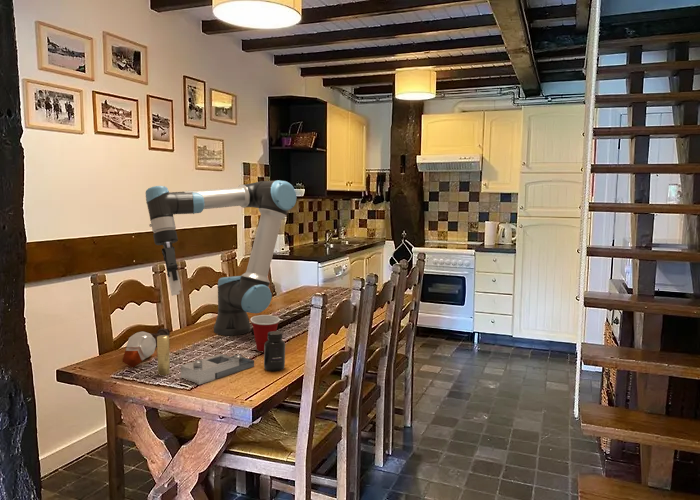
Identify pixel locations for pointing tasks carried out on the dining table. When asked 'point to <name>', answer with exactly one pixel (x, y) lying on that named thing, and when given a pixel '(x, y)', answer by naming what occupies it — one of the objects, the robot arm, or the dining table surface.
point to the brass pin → (163, 354)
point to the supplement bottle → (274, 352)
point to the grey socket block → (207, 368)
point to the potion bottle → (139, 348)
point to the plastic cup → (263, 328)
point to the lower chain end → (243, 365)
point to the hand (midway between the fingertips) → (176, 293)
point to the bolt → (160, 332)
